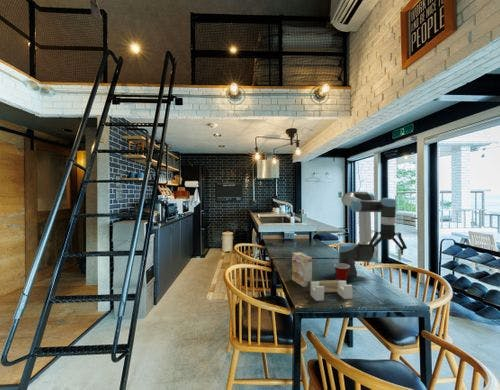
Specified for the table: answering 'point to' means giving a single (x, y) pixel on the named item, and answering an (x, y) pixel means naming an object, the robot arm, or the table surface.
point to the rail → (325, 285)
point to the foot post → (344, 290)
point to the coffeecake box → (301, 268)
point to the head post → (317, 291)
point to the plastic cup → (341, 271)
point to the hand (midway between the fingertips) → (386, 259)
